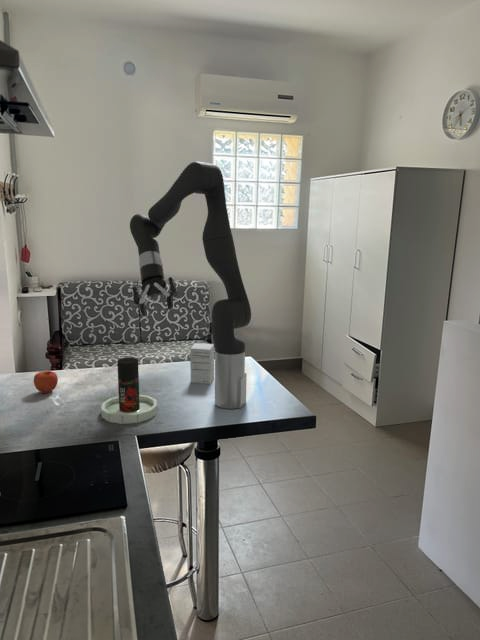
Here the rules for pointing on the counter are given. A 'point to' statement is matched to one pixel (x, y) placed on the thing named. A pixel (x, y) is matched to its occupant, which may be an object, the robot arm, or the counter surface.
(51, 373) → the apple
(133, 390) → the deodorant
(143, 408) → the round tray
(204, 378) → the supplement box
